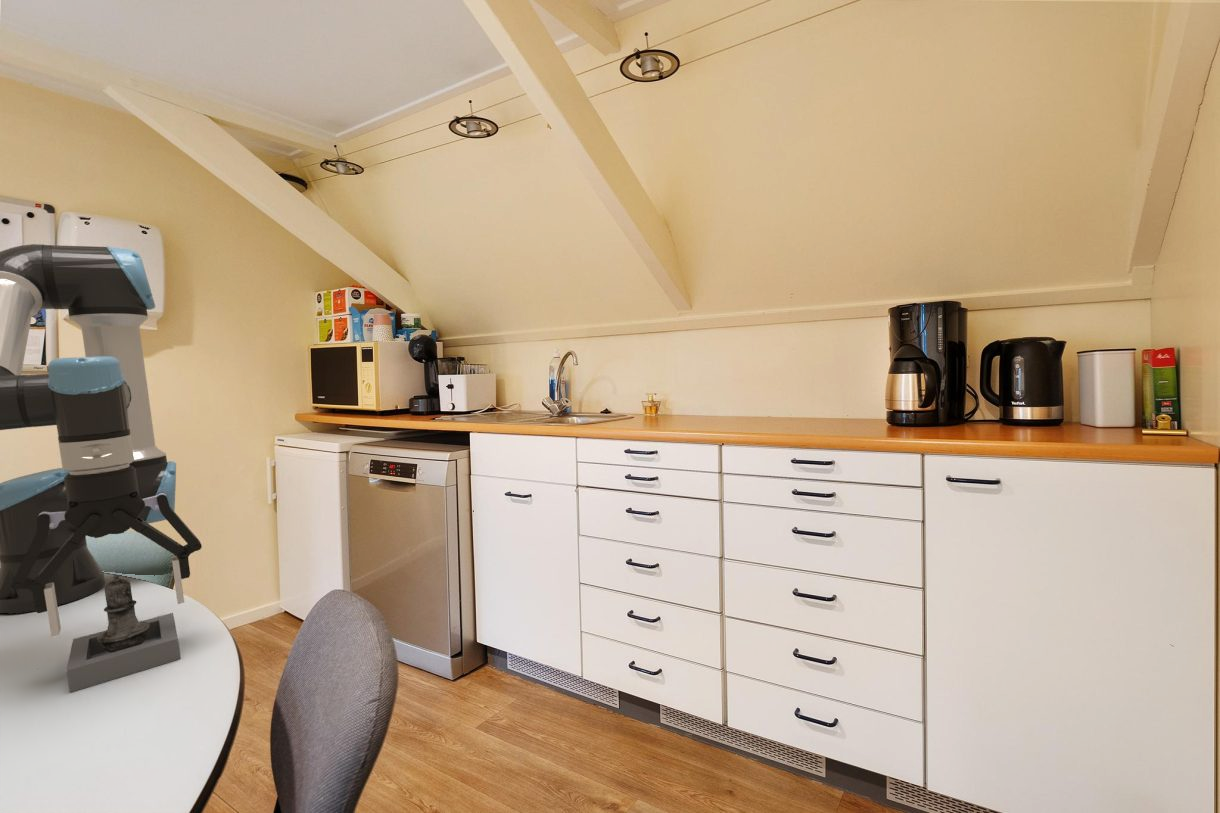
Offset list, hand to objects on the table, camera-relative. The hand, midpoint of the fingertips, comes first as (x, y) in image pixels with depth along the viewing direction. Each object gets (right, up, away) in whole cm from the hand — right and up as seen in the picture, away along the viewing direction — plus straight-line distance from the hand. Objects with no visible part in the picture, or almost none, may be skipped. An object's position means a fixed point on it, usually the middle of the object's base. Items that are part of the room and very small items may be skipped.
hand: (121, 616), depth 83 cm
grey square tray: (0, -6, +1) cm, 6 cm away
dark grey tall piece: (0, -6, +1) cm, 6 cm away
